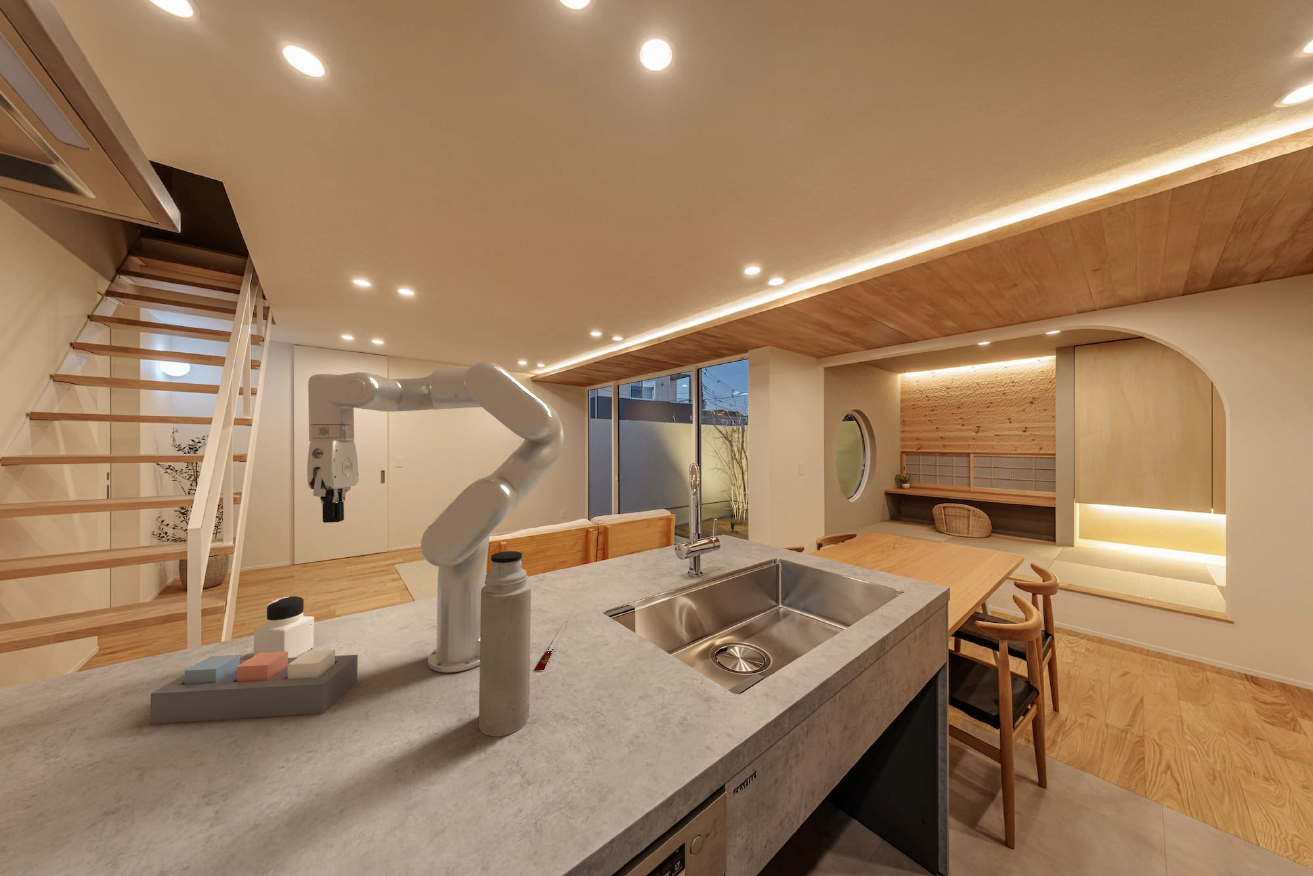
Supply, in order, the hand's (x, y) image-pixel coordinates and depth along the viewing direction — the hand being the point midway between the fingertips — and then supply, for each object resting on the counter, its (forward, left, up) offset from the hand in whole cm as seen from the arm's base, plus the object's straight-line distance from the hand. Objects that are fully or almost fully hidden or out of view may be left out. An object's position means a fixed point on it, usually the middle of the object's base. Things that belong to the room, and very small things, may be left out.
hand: (333, 521), depth 89 cm
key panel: (+4, +12, -30) cm, 32 cm away
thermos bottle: (-40, +22, -30) cm, 55 cm away
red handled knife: (-45, -5, -30) cm, 54 cm away
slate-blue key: (+12, +12, -26) cm, 31 cm away
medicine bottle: (+12, -5, -30) cm, 32 cm away
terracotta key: (+4, +12, -26) cm, 29 cm away
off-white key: (-4, +12, -26) cm, 29 cm away
